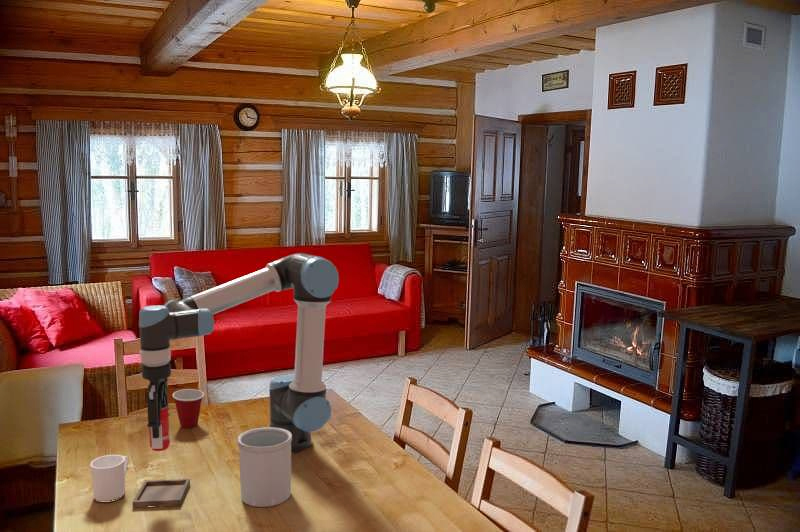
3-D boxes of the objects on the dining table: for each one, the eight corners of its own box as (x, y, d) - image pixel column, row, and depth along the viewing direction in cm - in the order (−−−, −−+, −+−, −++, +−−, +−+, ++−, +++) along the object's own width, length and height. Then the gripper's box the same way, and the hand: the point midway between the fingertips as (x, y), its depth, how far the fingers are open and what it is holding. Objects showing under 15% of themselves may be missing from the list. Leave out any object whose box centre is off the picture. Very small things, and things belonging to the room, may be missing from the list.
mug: (105, 507, 185) (103, 471, 184) (85, 498, 190) (83, 463, 188) (139, 490, 194) (137, 456, 193) (120, 483, 199) (118, 449, 197)
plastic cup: (195, 433, 236) (194, 399, 234) (167, 429, 238) (166, 397, 237) (211, 421, 246) (210, 389, 244) (184, 418, 249) (183, 387, 247)
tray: (190, 484, 198) (189, 478, 198) (180, 506, 186) (180, 500, 186) (145, 486, 197) (145, 480, 197) (132, 508, 185) (132, 501, 184)
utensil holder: (246, 482, 200) (245, 425, 197) (297, 483, 199) (296, 426, 197) (233, 507, 185) (231, 446, 183) (287, 509, 185) (286, 447, 182)
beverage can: (151, 453, 186) (149, 411, 184) (149, 446, 190) (146, 405, 189) (171, 449, 188) (169, 408, 186) (168, 442, 193) (166, 402, 191)
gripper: (150, 353, 194) (154, 431, 198) (132, 373, 176) (136, 458, 180) (177, 353, 195) (181, 430, 198) (162, 372, 177) (166, 457, 181)
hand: (160, 443), depth 189 cm, fingers closed on beverage can, 5 cm apart
